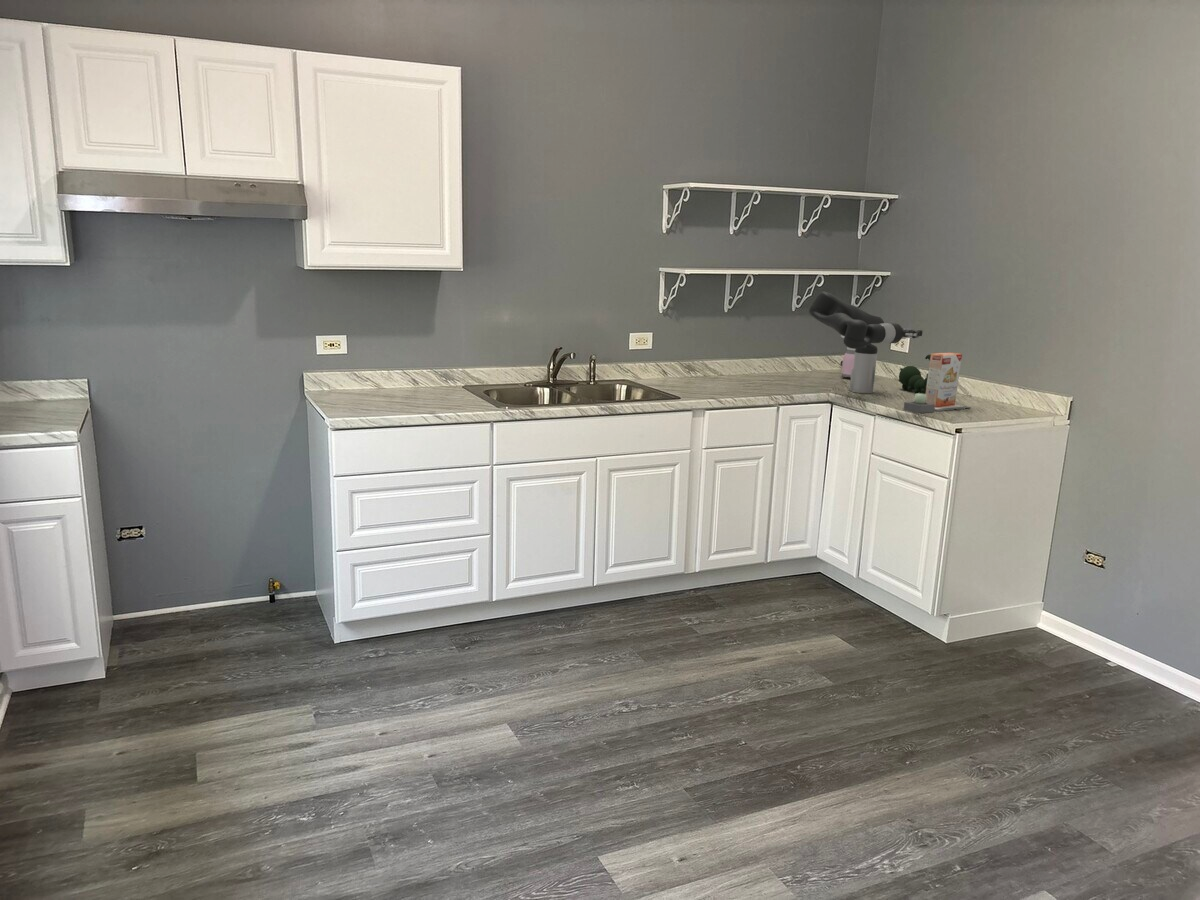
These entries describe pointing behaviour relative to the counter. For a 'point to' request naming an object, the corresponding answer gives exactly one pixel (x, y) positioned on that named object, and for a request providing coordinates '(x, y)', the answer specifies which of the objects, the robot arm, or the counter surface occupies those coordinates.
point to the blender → (847, 361)
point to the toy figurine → (913, 379)
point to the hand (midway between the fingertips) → (917, 332)
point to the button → (920, 399)
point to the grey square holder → (919, 407)
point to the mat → (950, 407)
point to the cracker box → (943, 378)
